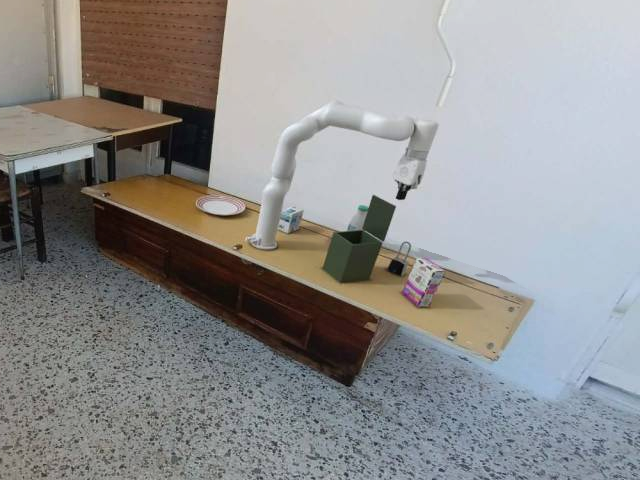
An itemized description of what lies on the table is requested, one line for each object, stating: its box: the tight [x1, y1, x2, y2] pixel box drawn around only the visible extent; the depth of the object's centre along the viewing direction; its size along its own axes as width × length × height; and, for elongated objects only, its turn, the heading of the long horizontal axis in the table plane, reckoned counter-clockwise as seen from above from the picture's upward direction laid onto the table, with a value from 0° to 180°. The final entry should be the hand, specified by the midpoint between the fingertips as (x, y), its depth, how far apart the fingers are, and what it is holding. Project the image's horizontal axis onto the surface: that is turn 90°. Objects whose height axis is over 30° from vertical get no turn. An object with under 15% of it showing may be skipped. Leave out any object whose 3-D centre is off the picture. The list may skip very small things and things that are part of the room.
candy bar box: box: [401, 257, 446, 308], centre depth 180 cm, size 11×5×16 cm, turn 5°
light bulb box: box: [277, 205, 304, 234], centre depth 235 cm, size 11×7×11 cm, turn 129°
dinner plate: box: [195, 194, 246, 217], centre depth 257 cm, size 28×27×3 cm
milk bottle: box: [346, 204, 369, 232], centre depth 220 cm, size 8×8×20 cm
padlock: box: [386, 241, 412, 277], centre depth 199 cm, size 7×4×15 cm, turn 37°
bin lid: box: [362, 194, 397, 243], centre depth 188 cm, size 15×13×1 cm
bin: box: [322, 230, 384, 284], centre depth 195 cm, size 15×13×18 cm
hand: (400, 199), depth 185 cm, fingers closed
